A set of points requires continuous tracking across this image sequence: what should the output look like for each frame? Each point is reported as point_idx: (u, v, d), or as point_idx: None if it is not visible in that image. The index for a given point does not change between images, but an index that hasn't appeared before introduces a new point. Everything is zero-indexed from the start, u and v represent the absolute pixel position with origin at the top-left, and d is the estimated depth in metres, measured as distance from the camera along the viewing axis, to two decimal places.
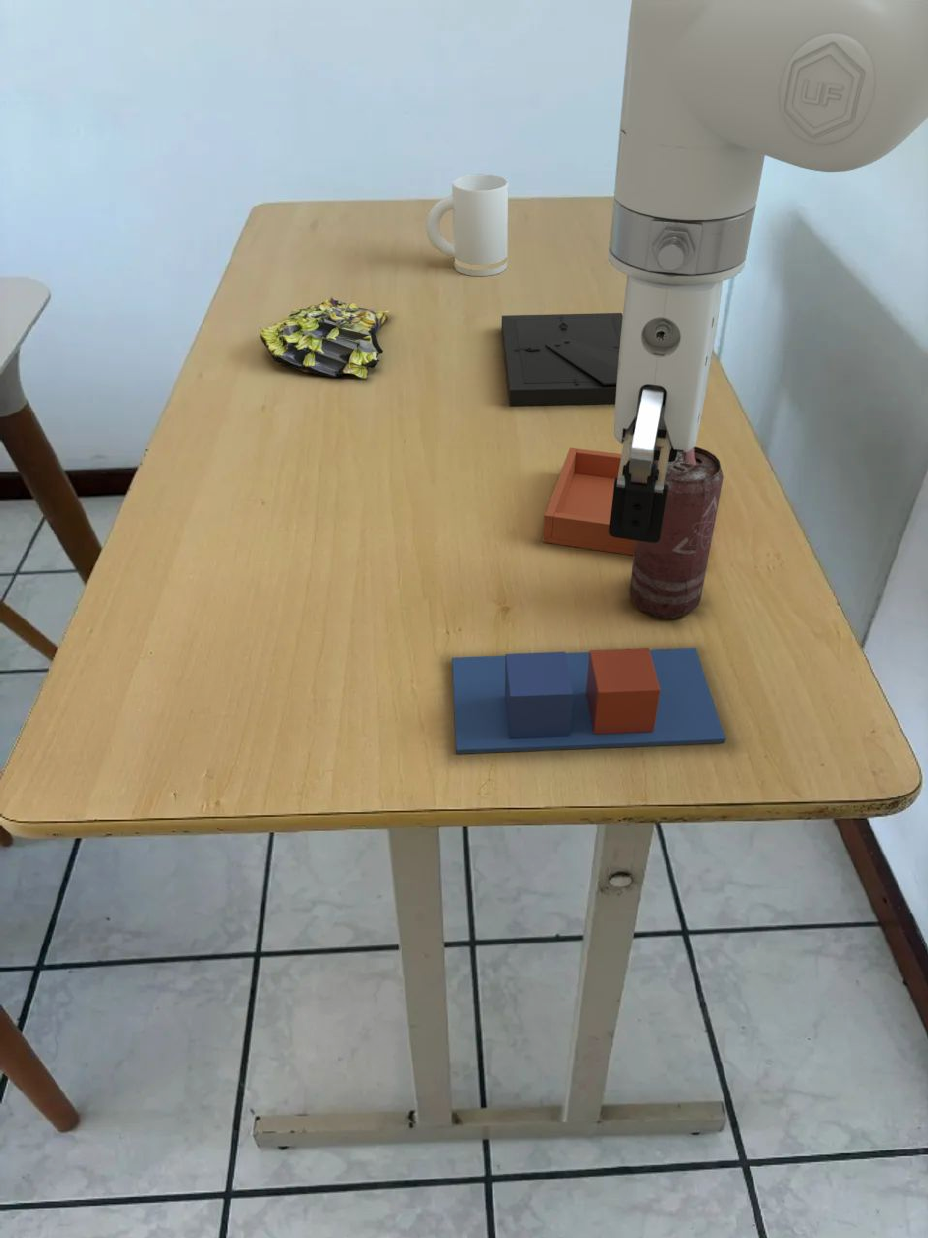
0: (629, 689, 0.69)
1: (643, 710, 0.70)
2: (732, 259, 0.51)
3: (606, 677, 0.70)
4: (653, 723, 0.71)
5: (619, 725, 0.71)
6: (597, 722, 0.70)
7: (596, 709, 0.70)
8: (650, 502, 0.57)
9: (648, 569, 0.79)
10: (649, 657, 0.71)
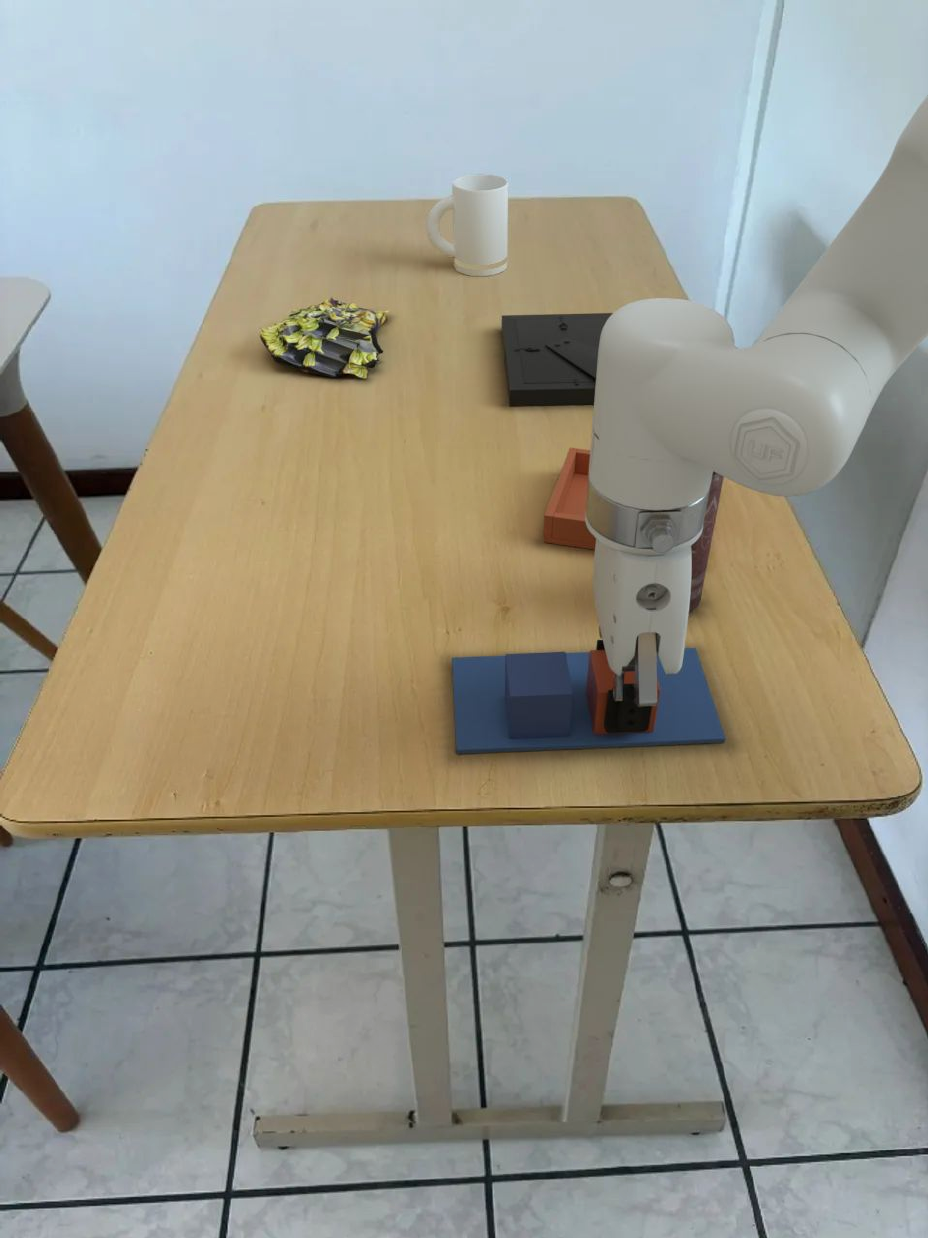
0: None
1: None
2: (700, 525, 0.59)
3: (606, 677, 0.70)
4: (653, 723, 0.71)
5: None
6: (597, 722, 0.70)
7: (596, 709, 0.70)
8: (643, 706, 0.68)
9: None
10: None
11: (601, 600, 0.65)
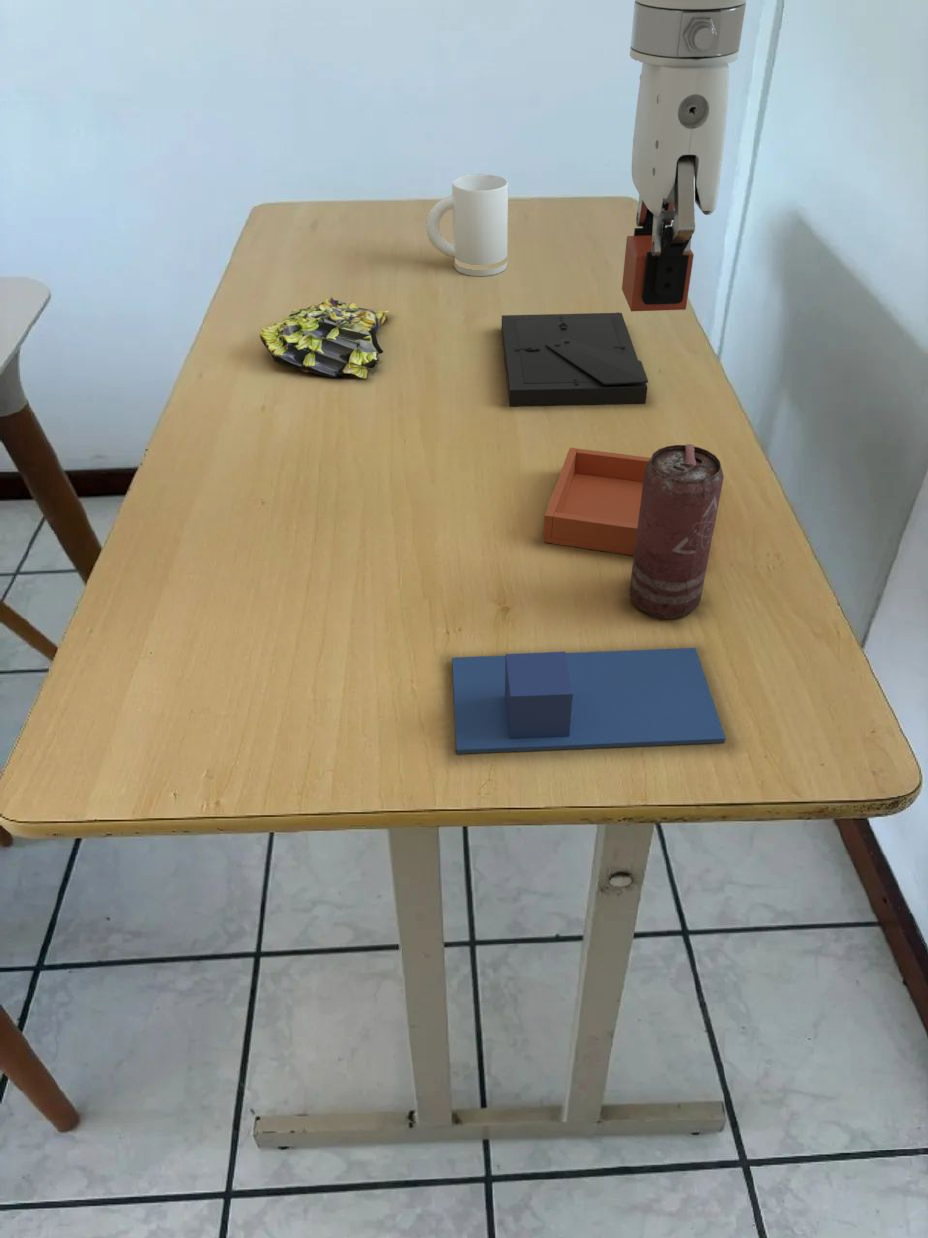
0: None
1: None
2: (736, 43, 0.65)
3: (643, 248, 0.76)
4: (686, 297, 0.77)
5: None
6: (634, 295, 0.77)
7: (634, 279, 0.76)
8: (679, 264, 0.74)
9: (648, 569, 0.79)
10: None
11: (643, 147, 0.71)
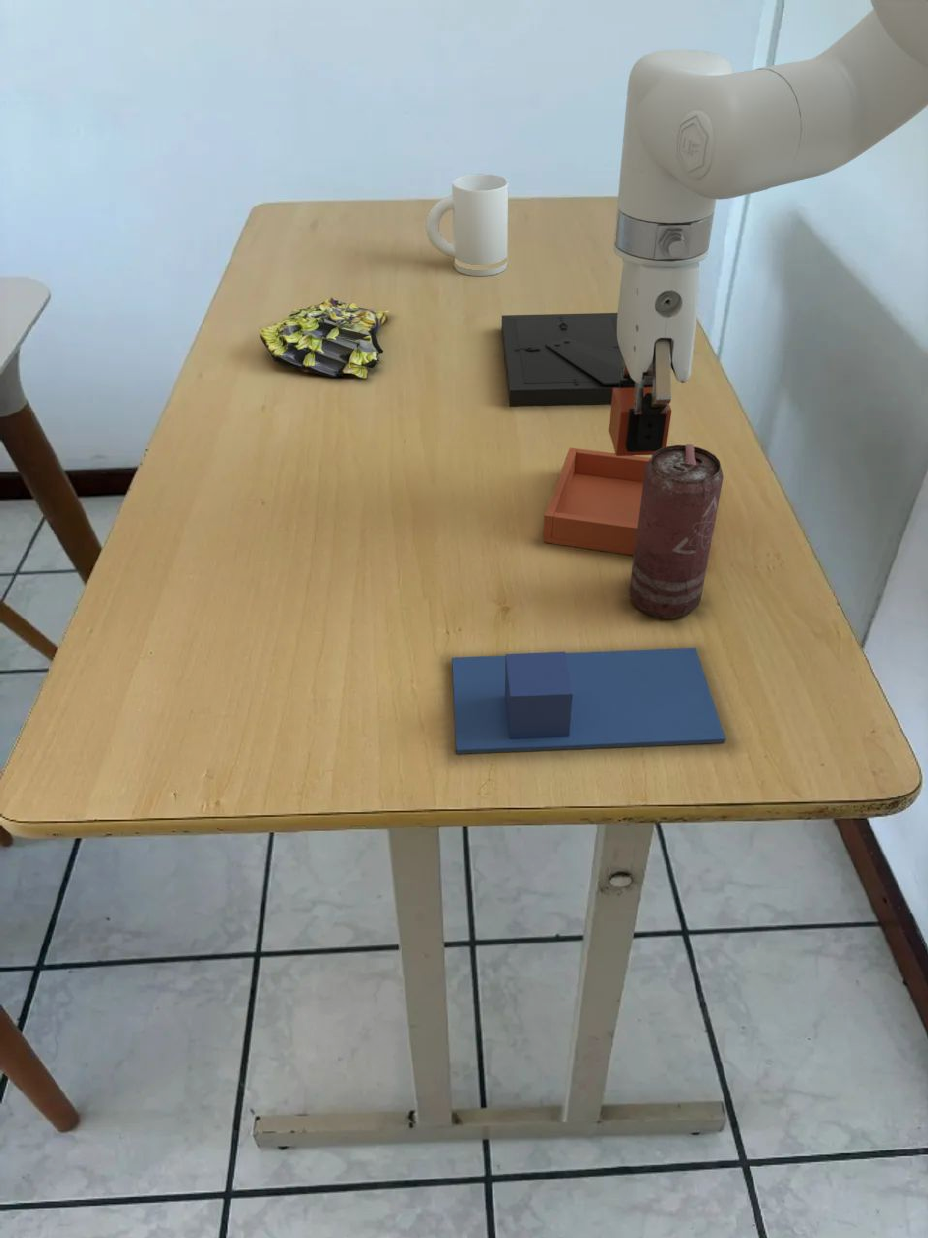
0: None
1: None
2: (706, 245, 0.75)
3: (627, 403, 0.85)
4: (665, 445, 0.86)
5: None
6: (619, 443, 0.86)
7: (618, 430, 0.85)
8: (658, 421, 0.83)
9: (648, 569, 0.79)
10: None
11: (625, 324, 0.80)
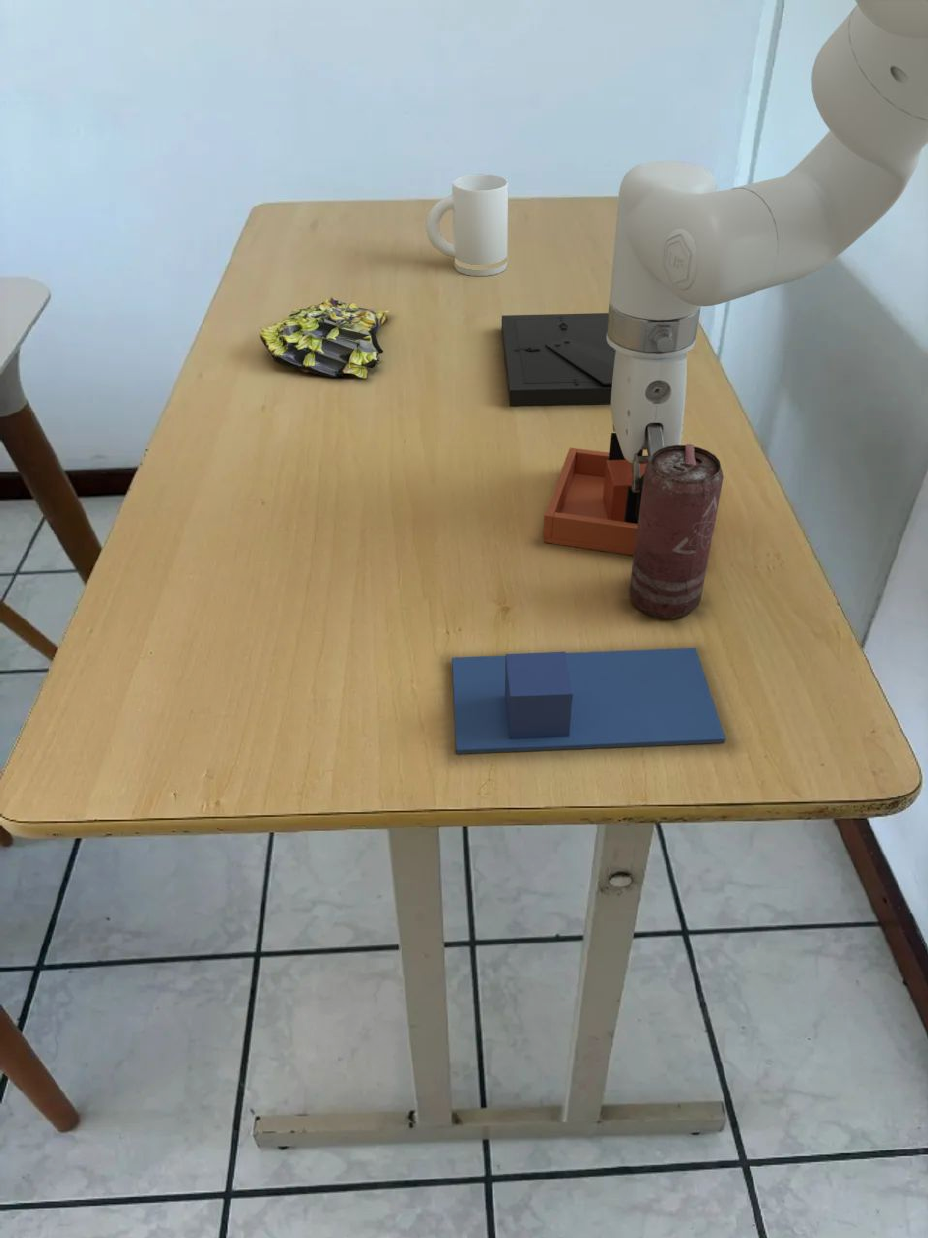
0: None
1: None
2: (693, 337, 0.80)
3: (620, 476, 0.90)
4: None
5: None
6: (612, 513, 0.91)
7: (612, 501, 0.90)
8: None
9: (648, 569, 0.79)
10: None
11: (618, 406, 0.85)
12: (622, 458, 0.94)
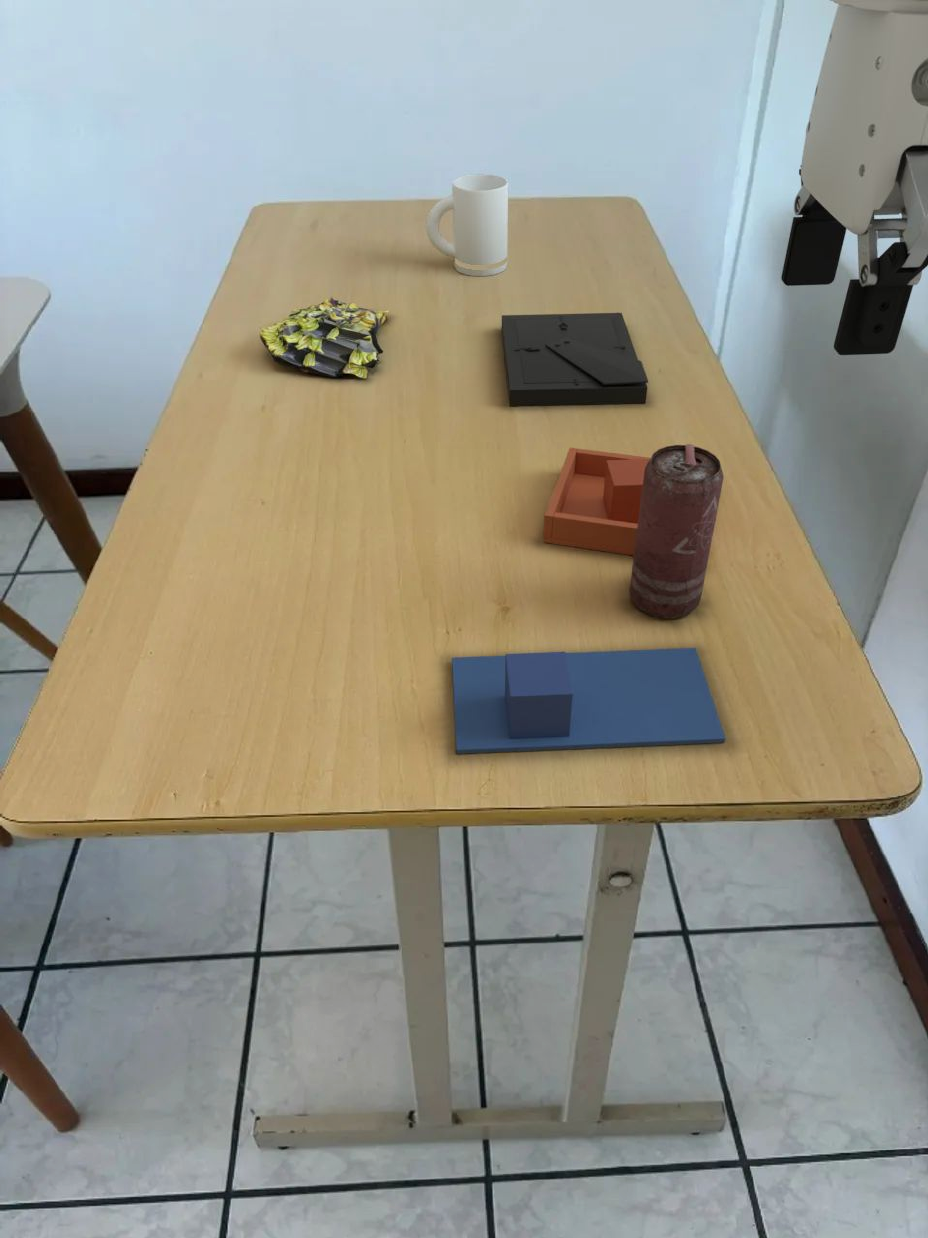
0: (638, 483, 0.89)
1: None
2: None
3: (620, 476, 0.90)
4: None
5: (630, 516, 0.91)
6: (612, 513, 0.91)
7: (612, 501, 0.90)
8: (900, 298, 0.49)
9: (648, 569, 0.79)
10: None
11: (838, 136, 0.49)
12: (808, 262, 0.59)
